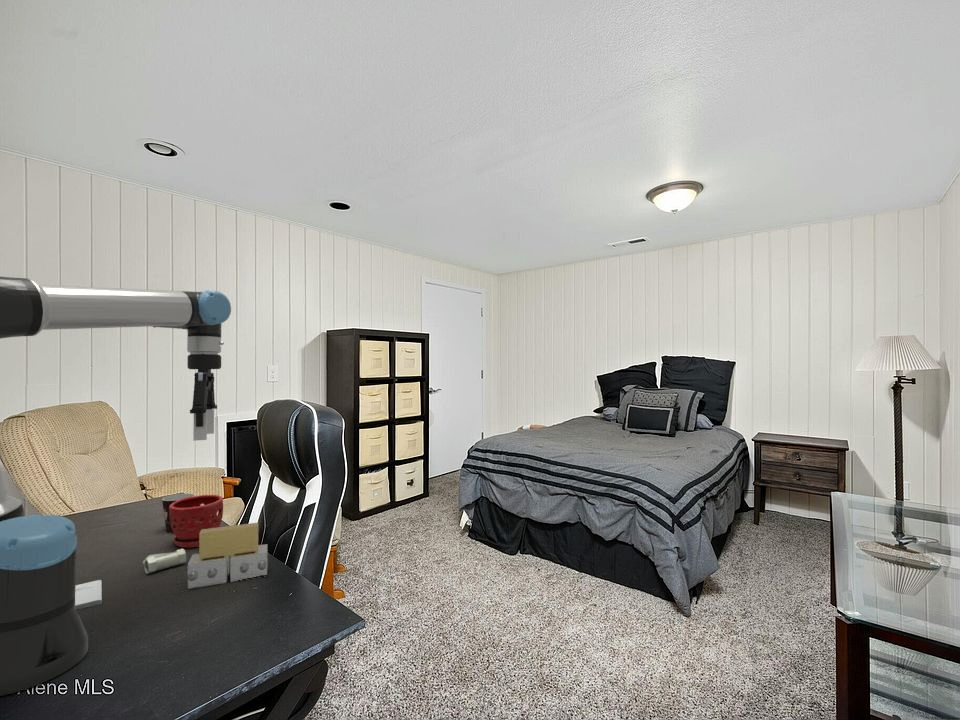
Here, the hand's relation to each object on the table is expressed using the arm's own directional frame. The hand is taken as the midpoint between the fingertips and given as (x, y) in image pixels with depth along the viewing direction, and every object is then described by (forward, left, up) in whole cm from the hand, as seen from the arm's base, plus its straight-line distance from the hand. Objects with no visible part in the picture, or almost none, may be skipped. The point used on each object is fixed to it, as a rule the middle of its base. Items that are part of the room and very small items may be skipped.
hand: (204, 436), depth 120 cm
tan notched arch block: (-13, -7, -31) cm, 35 cm away
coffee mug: (+31, +11, -32) cm, 46 cm away
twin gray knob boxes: (-13, -7, -32) cm, 35 cm away
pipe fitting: (+1, +9, -32) cm, 33 cm away
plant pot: (+17, +4, -32) cm, 36 cm away
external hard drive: (-11, +22, -32) cm, 41 cm away
